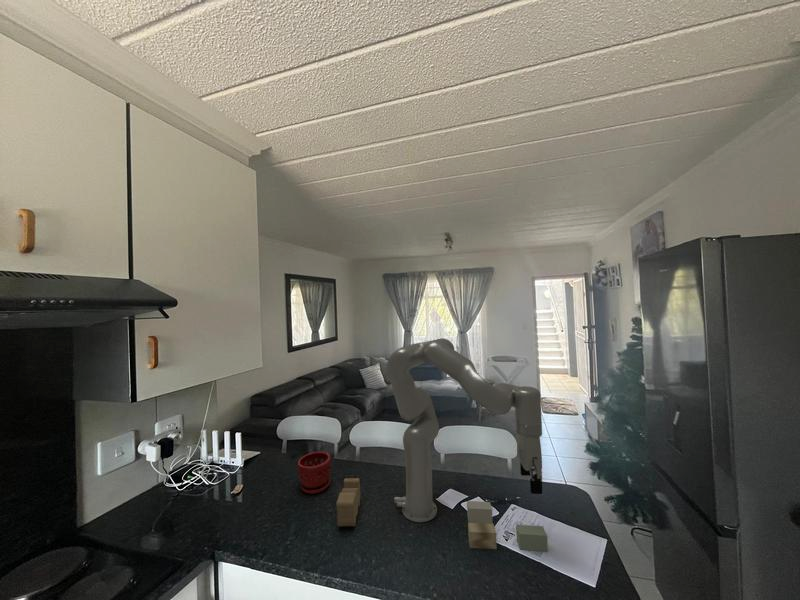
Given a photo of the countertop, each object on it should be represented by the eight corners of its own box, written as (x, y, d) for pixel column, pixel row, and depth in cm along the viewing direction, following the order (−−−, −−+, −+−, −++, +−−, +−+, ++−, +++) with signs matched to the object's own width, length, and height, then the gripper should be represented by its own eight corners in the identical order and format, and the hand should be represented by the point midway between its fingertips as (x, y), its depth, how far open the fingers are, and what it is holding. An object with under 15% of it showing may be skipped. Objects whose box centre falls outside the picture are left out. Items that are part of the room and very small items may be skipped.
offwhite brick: (468, 523, 106) (468, 508, 106) (467, 515, 110) (467, 500, 110) (492, 524, 105) (492, 509, 105) (490, 516, 109) (489, 502, 109)
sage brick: (519, 550, 94) (519, 533, 94) (516, 540, 97) (516, 524, 98) (547, 552, 92) (547, 535, 93) (543, 542, 96) (542, 526, 97)
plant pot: (317, 475, 137) (316, 448, 138) (337, 485, 130) (337, 456, 130) (291, 490, 127) (291, 460, 127) (312, 501, 119) (311, 470, 119)
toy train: (360, 500, 119) (360, 474, 119) (353, 533, 102) (352, 502, 102) (346, 500, 119) (345, 474, 119) (336, 533, 102) (336, 502, 102)
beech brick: (470, 548, 95) (469, 531, 95) (468, 538, 99) (468, 522, 99) (496, 549, 94) (496, 532, 94) (493, 539, 98) (493, 523, 98)
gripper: (509, 417, 105) (511, 468, 104) (524, 439, 87) (527, 501, 87) (531, 418, 104) (533, 469, 103) (552, 440, 87) (555, 501, 86)
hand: (530, 483), depth 95 cm, fingers open, 9 cm apart
